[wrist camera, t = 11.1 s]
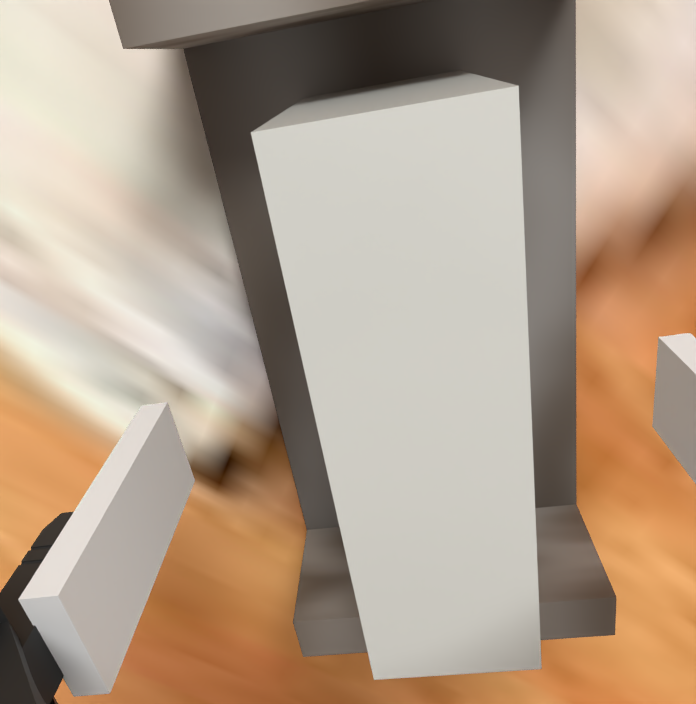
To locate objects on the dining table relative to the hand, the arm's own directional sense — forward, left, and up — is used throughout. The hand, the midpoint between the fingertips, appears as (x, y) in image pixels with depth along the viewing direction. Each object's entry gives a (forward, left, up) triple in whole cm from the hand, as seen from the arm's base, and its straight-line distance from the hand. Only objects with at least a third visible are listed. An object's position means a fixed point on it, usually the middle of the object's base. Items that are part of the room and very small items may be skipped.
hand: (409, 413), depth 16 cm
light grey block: (0, 0, -7) cm, 7 cm away
